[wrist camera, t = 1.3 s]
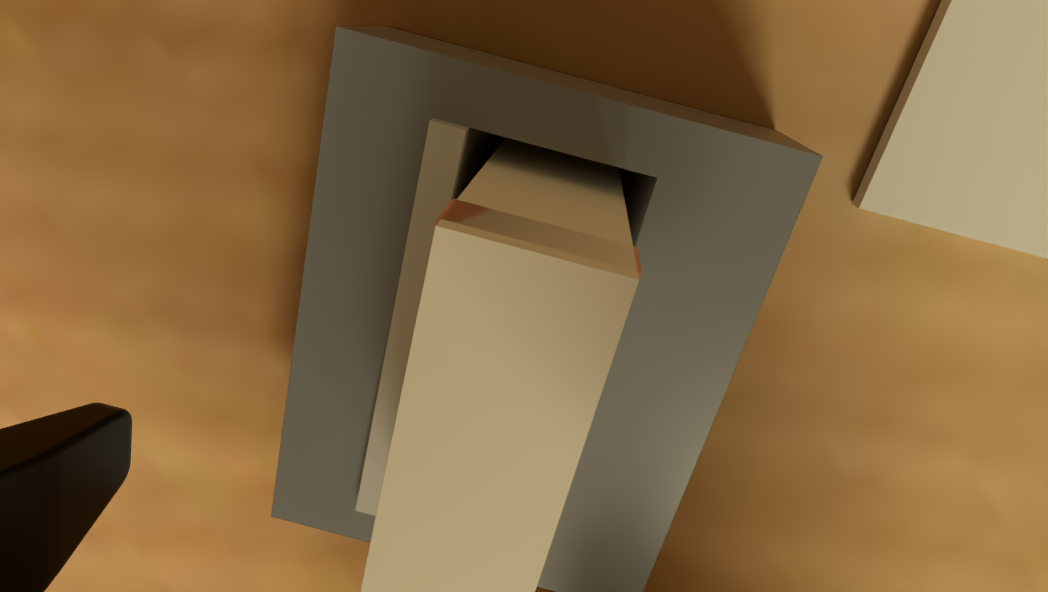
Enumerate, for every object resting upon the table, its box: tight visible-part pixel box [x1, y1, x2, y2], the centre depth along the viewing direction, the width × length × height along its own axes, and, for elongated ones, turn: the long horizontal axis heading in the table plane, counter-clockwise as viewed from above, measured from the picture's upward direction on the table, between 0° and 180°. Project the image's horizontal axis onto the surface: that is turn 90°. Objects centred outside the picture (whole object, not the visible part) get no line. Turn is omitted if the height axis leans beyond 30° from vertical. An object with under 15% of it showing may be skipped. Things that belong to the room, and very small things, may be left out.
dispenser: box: [271, 26, 823, 592], centre depth 14 cm, size 10×8×3 cm
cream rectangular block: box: [360, 138, 642, 592], centre depth 12 cm, size 7×2×7 cm, turn 166°
